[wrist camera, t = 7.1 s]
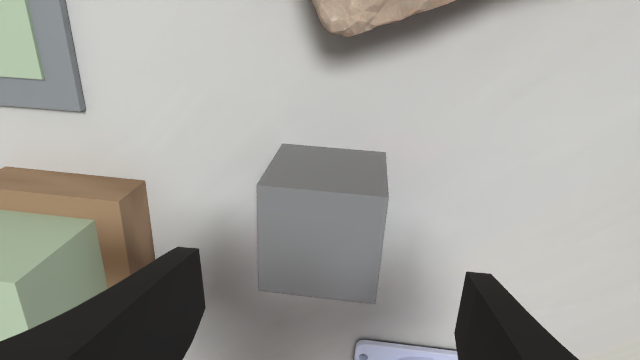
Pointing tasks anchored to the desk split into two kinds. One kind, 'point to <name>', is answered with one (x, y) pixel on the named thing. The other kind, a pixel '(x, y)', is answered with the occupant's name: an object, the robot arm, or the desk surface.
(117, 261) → the light brown block
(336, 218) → the charcoal block
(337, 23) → the brick
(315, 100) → the desk surface
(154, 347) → the robot arm
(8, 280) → the sage block
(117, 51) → the desk surface
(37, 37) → the plaque
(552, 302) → the desk surface
